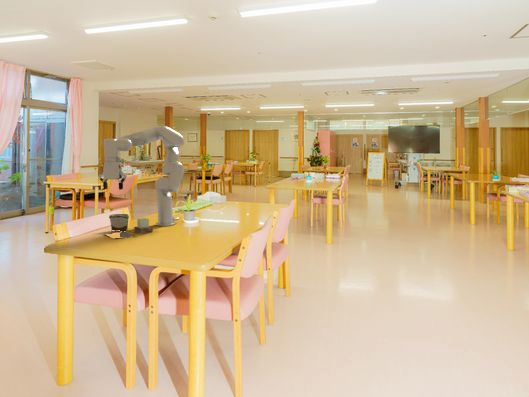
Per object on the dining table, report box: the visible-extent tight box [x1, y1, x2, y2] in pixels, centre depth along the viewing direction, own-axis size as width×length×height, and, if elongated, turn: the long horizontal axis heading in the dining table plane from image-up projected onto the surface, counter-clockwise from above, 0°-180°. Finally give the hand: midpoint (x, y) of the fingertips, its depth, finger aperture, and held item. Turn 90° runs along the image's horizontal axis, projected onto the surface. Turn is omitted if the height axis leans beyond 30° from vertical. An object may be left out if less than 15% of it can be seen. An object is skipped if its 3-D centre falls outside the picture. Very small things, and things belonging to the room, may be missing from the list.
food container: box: [108, 213, 130, 232], centre depth 241 cm, size 12×6×10 cm, turn 84°
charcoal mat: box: [120, 231, 136, 238], centre depth 227 cm, size 12×16×1 cm
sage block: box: [136, 217, 150, 229], centre depth 236 cm, size 5×5×8 cm
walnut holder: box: [133, 225, 153, 235], centre depth 236 cm, size 8×8×3 cm
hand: (113, 189), depth 230 cm, fingers open, 9 cm apart
